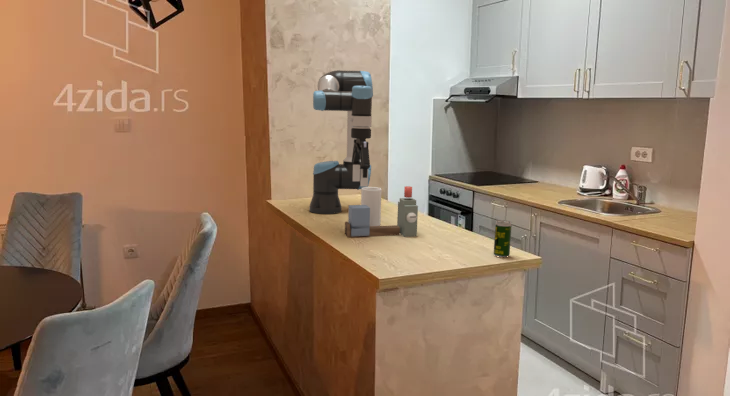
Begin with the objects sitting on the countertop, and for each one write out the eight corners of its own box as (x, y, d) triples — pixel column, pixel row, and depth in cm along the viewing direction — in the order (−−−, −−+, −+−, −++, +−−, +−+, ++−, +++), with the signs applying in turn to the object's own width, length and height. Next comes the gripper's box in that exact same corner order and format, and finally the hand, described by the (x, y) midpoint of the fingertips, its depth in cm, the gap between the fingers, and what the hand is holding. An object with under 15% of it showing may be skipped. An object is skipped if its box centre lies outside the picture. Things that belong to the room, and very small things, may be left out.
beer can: (497, 253, 195) (500, 219, 193) (512, 256, 192) (514, 221, 190) (490, 256, 191) (492, 221, 189) (505, 259, 188) (507, 224, 186)
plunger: (403, 196, 219) (403, 186, 219) (410, 196, 220) (410, 186, 220) (405, 197, 217) (405, 187, 216) (412, 197, 217) (413, 187, 217)
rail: (344, 234, 218) (344, 221, 217) (396, 232, 222) (396, 220, 222) (347, 237, 213) (347, 224, 212) (400, 235, 218) (400, 222, 217)
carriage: (348, 232, 219) (348, 205, 217) (365, 231, 220) (366, 204, 218) (351, 236, 212) (352, 208, 211) (369, 235, 214) (370, 207, 212)
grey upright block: (396, 230, 225) (397, 197, 223) (409, 230, 226) (410, 197, 224) (404, 237, 215) (406, 202, 212) (417, 236, 216) (419, 201, 214)
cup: (378, 229, 228) (379, 190, 225) (358, 227, 229) (359, 189, 226) (381, 224, 236) (382, 187, 233) (362, 223, 237) (363, 186, 234)
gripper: (344, 126, 220) (344, 179, 224) (358, 129, 197) (357, 188, 200) (363, 126, 222) (362, 179, 226) (379, 129, 198) (377, 188, 202)
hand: (360, 183), depth 213 cm, fingers open, 13 cm apart
